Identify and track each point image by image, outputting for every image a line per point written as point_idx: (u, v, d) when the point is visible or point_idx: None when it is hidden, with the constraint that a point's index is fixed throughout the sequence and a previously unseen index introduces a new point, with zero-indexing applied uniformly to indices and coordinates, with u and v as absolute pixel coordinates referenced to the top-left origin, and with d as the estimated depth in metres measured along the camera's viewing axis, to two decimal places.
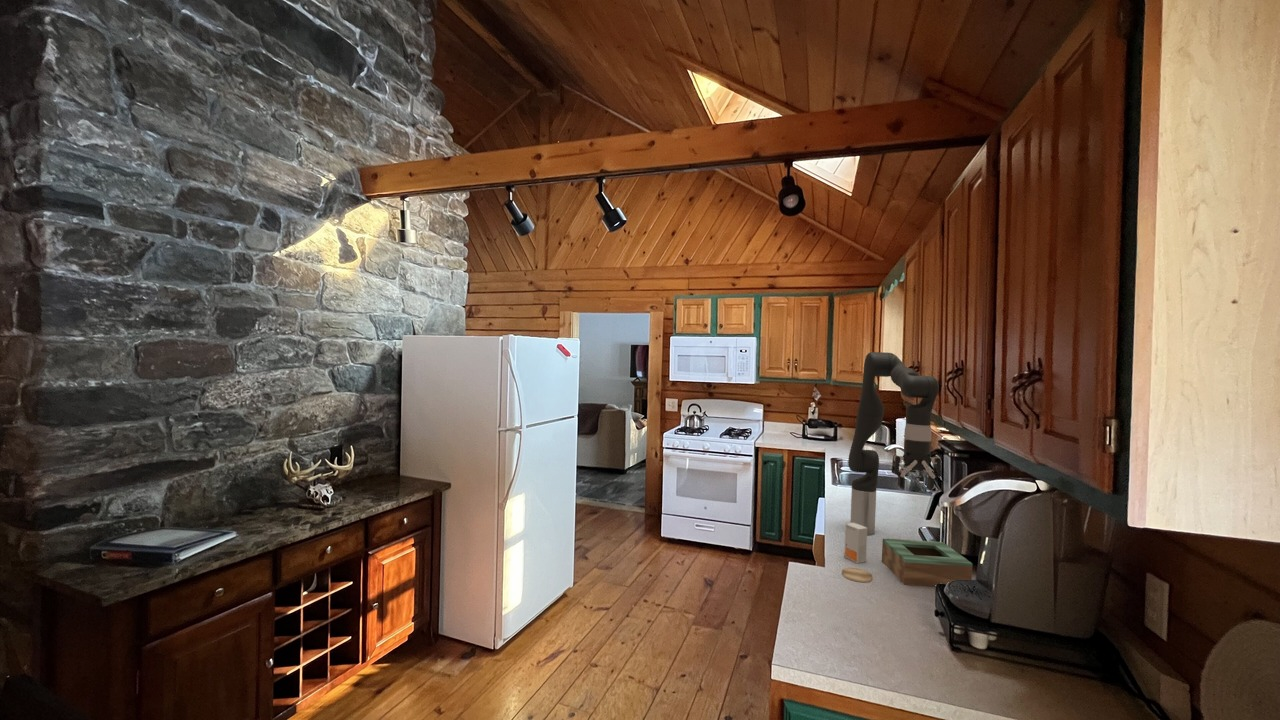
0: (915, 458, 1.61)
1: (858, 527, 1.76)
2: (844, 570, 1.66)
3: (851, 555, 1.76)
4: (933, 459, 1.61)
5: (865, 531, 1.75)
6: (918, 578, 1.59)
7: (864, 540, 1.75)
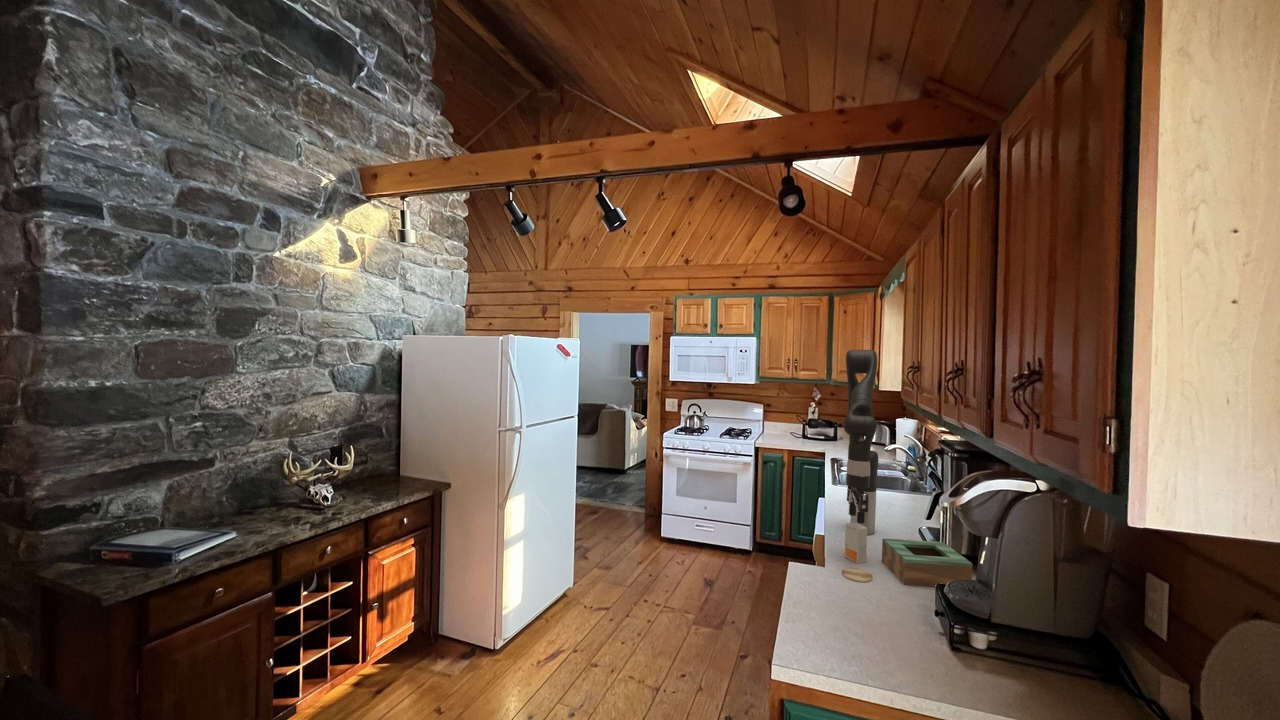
0: None
1: (858, 527, 1.76)
2: (844, 570, 1.66)
3: (851, 555, 1.76)
4: None
5: (865, 531, 1.75)
6: (918, 578, 1.59)
7: (864, 540, 1.75)
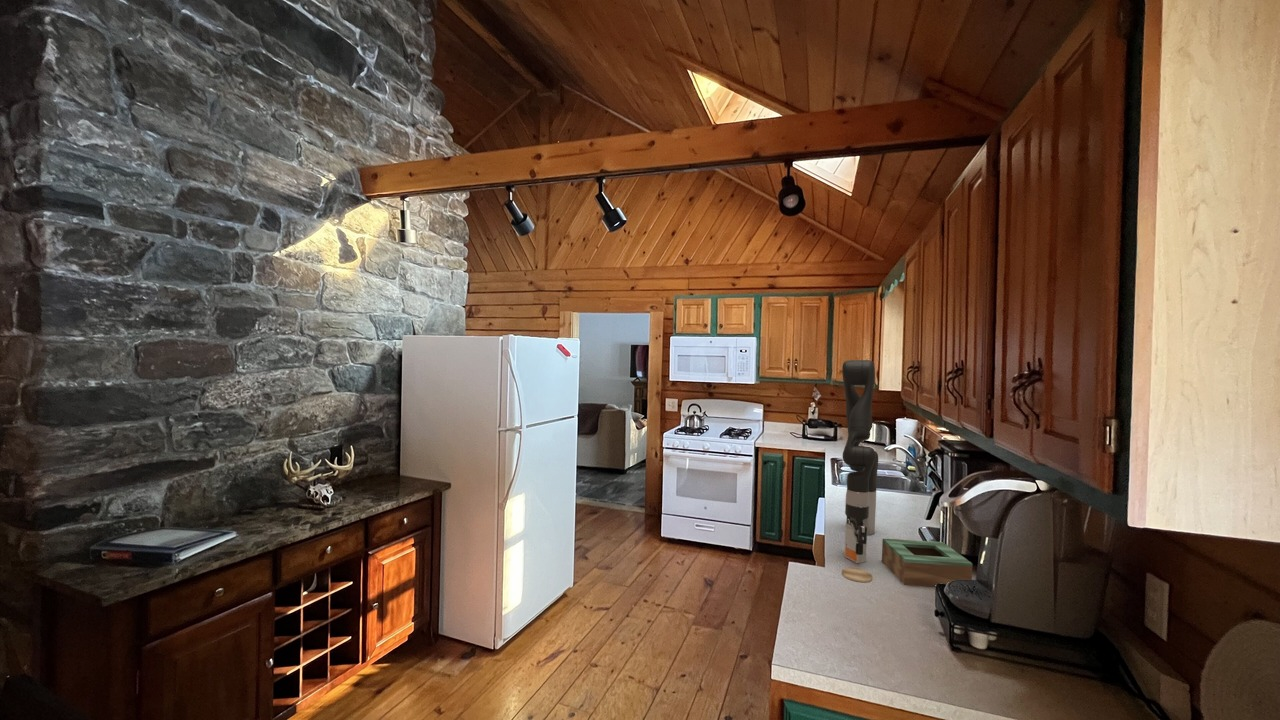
0: None
1: None
2: (844, 570, 1.66)
3: (851, 555, 1.76)
4: None
5: None
6: (918, 578, 1.59)
7: None
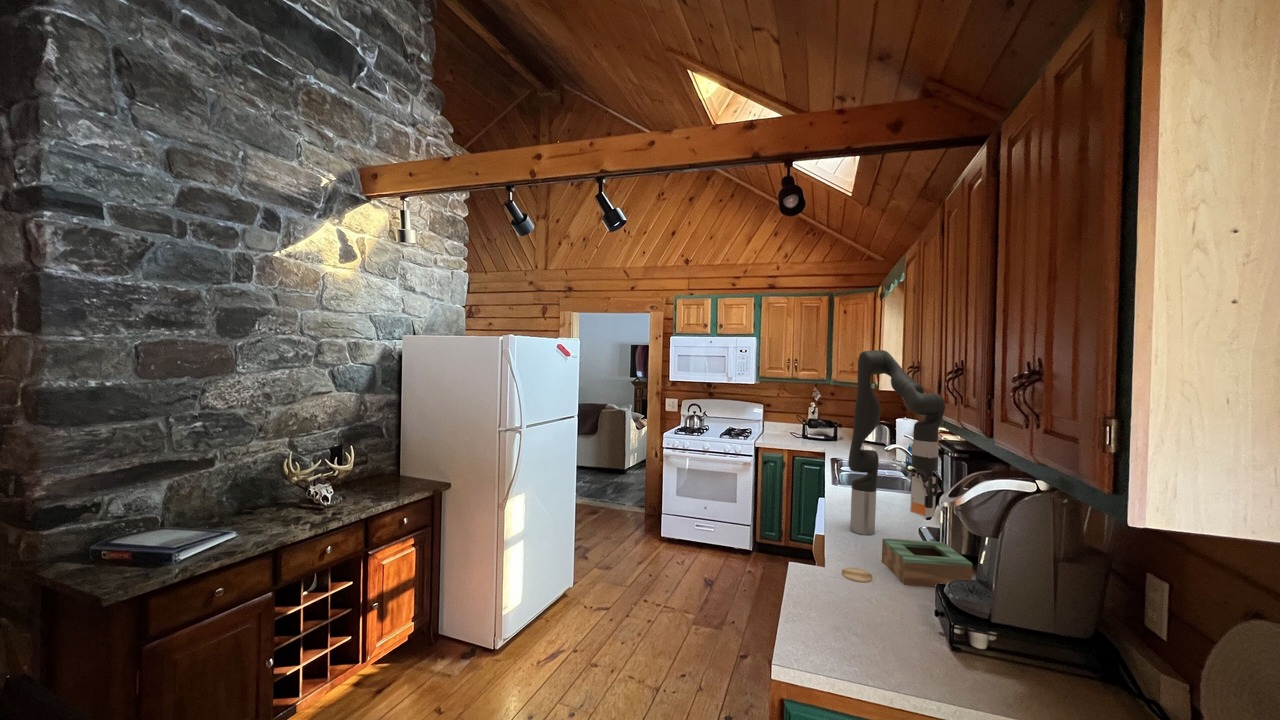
0: None
1: None
2: (844, 570, 1.66)
3: (918, 510, 1.66)
4: None
5: None
6: (918, 578, 1.59)
7: None
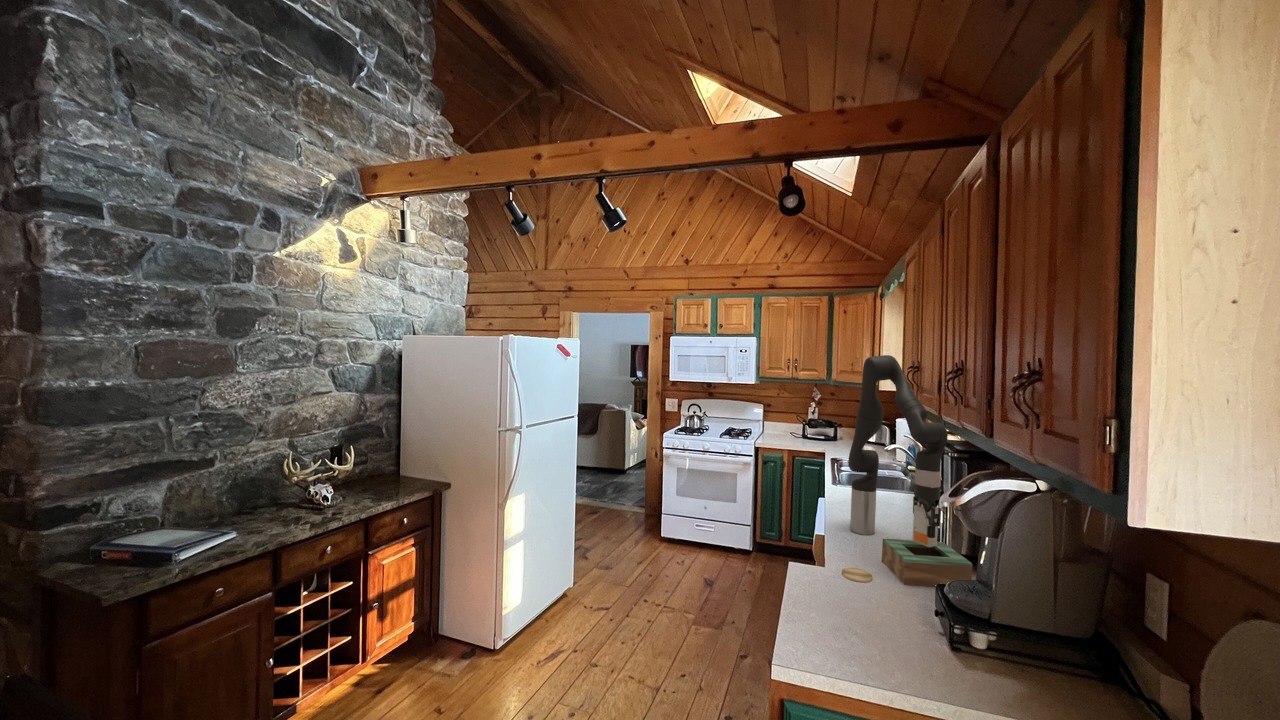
0: None
1: None
2: (844, 570, 1.66)
3: (921, 539, 1.66)
4: None
5: None
6: (918, 578, 1.59)
7: None
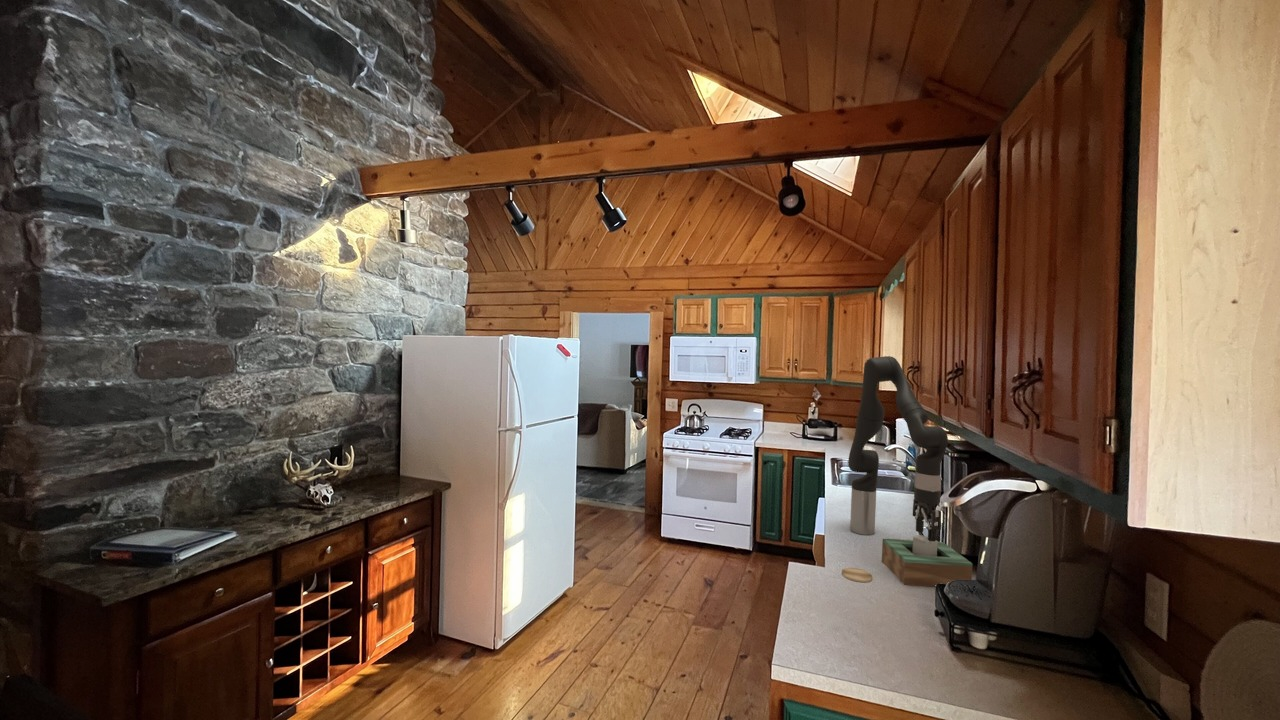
0: None
1: (928, 540, 1.65)
2: (844, 570, 1.66)
3: None
4: None
5: (935, 544, 1.65)
6: (918, 578, 1.59)
7: (934, 553, 1.64)
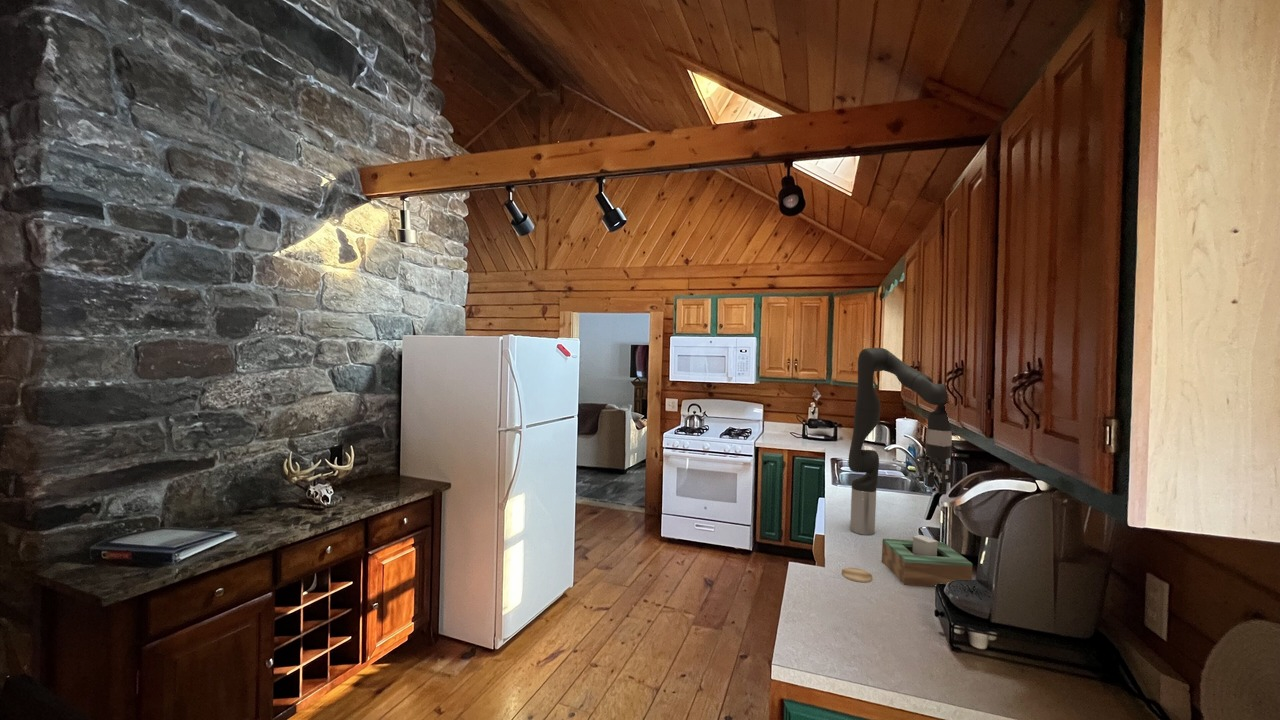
0: None
1: (928, 540, 1.65)
2: (844, 570, 1.66)
3: None
4: None
5: (935, 544, 1.65)
6: (918, 578, 1.59)
7: (934, 553, 1.65)
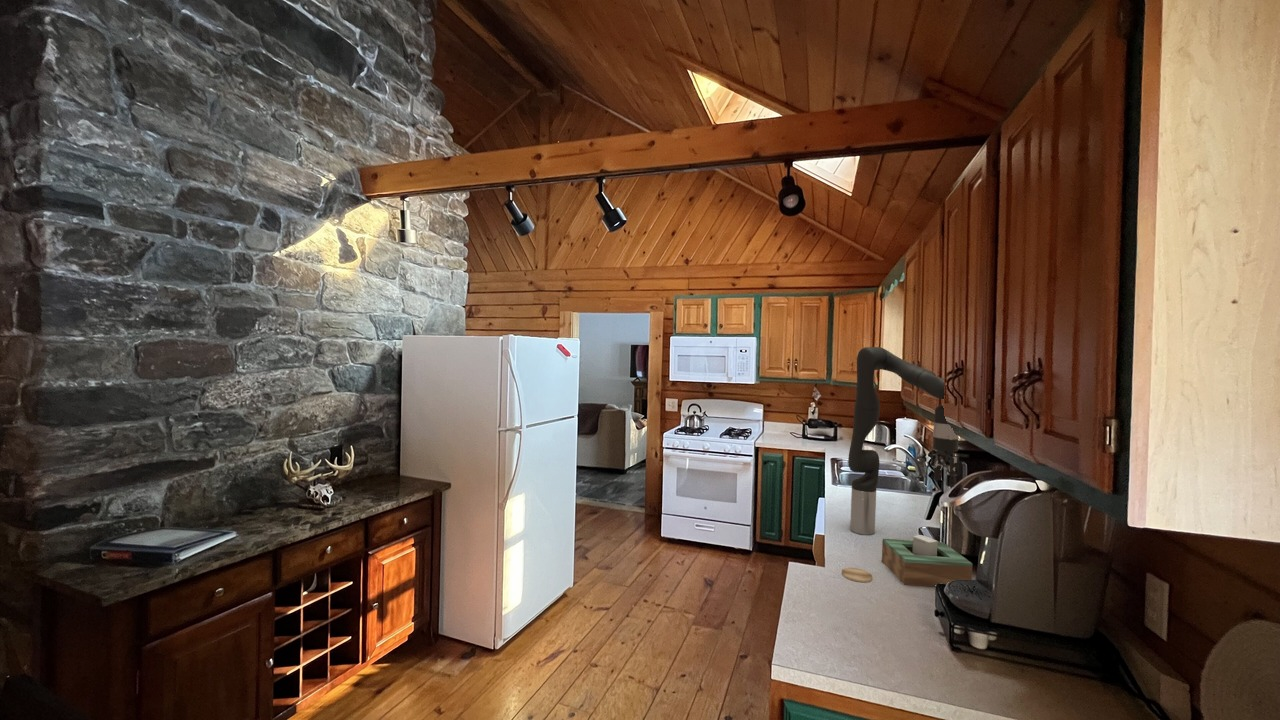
0: None
1: (928, 540, 1.65)
2: (844, 570, 1.66)
3: None
4: None
5: (935, 544, 1.65)
6: (918, 578, 1.59)
7: (934, 553, 1.65)
